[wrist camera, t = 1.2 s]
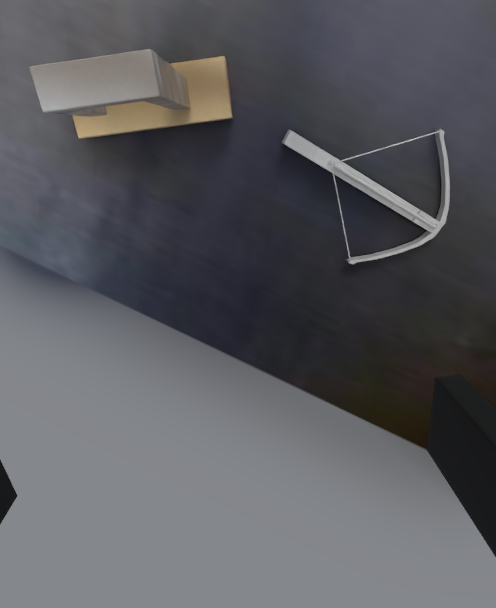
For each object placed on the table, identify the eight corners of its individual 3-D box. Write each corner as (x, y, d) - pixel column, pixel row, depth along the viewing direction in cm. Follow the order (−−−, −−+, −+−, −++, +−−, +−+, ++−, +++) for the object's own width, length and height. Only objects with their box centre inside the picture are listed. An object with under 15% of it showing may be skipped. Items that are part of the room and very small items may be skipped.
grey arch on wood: (233, 118, 31) (223, 110, 19) (90, 138, 32) (-8, 142, 20) (226, 61, 29) (210, 12, 17) (75, 83, 30) (-41, 50, 18)
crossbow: (479, 162, 33) (494, 164, 31) (389, 281, 38) (398, 290, 36) (327, 56, 29) (334, 52, 27) (248, 204, 34) (249, 209, 32)
